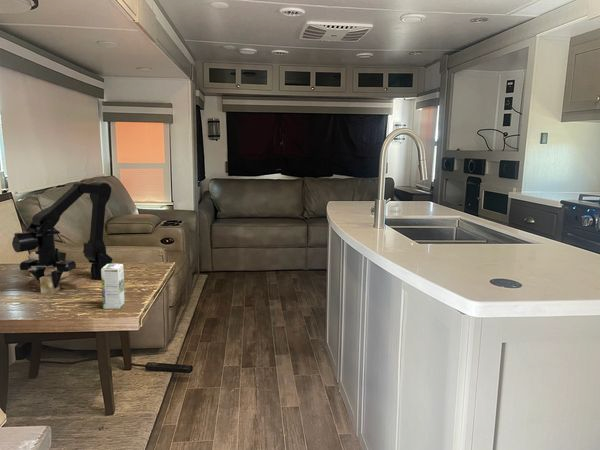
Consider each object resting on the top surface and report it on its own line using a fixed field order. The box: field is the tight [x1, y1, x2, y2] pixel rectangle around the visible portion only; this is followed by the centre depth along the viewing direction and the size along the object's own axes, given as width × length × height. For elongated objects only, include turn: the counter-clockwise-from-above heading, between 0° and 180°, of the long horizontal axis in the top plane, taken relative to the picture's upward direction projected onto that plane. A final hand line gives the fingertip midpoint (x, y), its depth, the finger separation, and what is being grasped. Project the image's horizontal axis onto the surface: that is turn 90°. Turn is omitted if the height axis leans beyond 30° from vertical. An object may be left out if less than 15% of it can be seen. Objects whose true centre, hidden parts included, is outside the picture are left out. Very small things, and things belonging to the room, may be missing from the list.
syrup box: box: [101, 263, 126, 310], centre depth 153 cm, size 6×6×14 cm
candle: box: [27, 251, 46, 278], centre depth 187 cm, size 6×6×10 cm
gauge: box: [39, 271, 70, 295], centre depth 172 cm, size 4×14×6 cm, turn 175°
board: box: [26, 277, 87, 290], centre depth 176 cm, size 20×6×2 cm, turn 85°
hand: (50, 287), depth 168 cm, fingers open, 5 cm apart
